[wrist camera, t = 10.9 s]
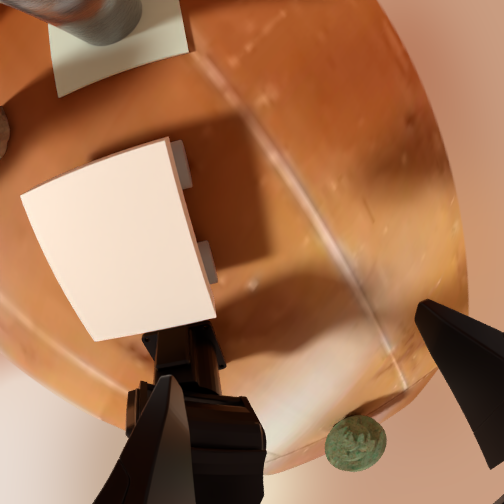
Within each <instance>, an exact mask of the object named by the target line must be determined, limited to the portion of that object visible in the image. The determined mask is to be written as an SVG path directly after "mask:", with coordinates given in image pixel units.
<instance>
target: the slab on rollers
mask: <svg viewBox="0 0 504 504" xmlns="http://www.w3.org/2000/svg"><path fill="white" fill-rule="evenodd" d="M191 187H192V178H191V173H190V168H189V164H188V159H187V155H186V151H185V148H184V145H183V142H182V140H178V141H174V142H170V140H169V136H168V137H165V138H161V139H158V140H154V141H151V142H148V143H144V144H141V145H138V146H135V147H132V148H129V149H126V150H123V151H120V152H117V153H114V154H111V155H108V156H105V157H103V158H100V159H97V160H95V161H92V162H89V163H87V164H84V165H82V166H79V167H77V168H74V169H72V170H69V171H67V172H65V173H62V174H60V175H58V176H55V177H53V178H51V179H49V180H47V181H44V182H42V183H40V184H38V185H36V186H34V187H33V188H31V189H30V190H28V191H27V192H25V193H24V194H22V195H21V196H20V197H21V200H22V202H23V205H24V208H25V210H26V213H27V216H28V218H29V221H30V223H31V225H32V228H33V230H34V233H35V235H36V237H37V239H38V242H39V244H40V246H41V248H42V250H43V252H44V255H45V257H46V259H47V261H48V263H49V265H50V267H51V269H52V271H53V273H54V275H55V276H56V278H57V280H58V282H59V284H60V286H61V288H62V289H63V291H64V293H65V295H66V297H67V298H68V300H69V302H70V303H71V305H72V307H73V308H74V310H75V312H76V313H77V315H78V317H79V318H80V320H81V321H82V323H83V325H84V326H85V328H86V329H87V331H88V332H89V334H90V335H91V337H92V338H93V340H94V341H101V340H107V339H113V338H119V337H124V336H130V335H135V334H140V333H145V332H151V331H156V330H161V329H165V328H170V327H175V326H180V325H184V324H189V323H194V322H198V321H203V320H207V319H211V318H216V309H215V301H214V296H213V293H212V290H211V287H210V284H213V283H217V282H218V278H217V273H216V268H215V264H214V260H213V256H212V252H211V248H210V245H209V242H208V240H206V241H202V242H198V243H197V241H196V238H195V234H194V231H193V227H192V224H191V220H190V217H189V213H188V209H187V206H186V202H185V198H184V195H183V191H182V190H183V189H187V188H191Z"/></svg>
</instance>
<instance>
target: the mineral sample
mask: <svg viewBox="0 0 504 504" xmlns="http://www.w3.org/2000/svg"><path fill="white" fill-rule="evenodd" d="M9 137H10V128H9V124H8V121H7V117H6V114H5V112H4V110H3V107H2V106H0V159H1V158H2V156H3V155H4V154H5V152H6V149H7V141H8V140H9Z"/></svg>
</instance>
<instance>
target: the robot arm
mask: <svg viewBox="0 0 504 504" xmlns="http://www.w3.org/2000/svg"><path fill="white" fill-rule="evenodd" d="M415 323H416V325H417V327H418V329H419V331H420V333H421V336H422V338H423V340H424V342H425V344H426V346H427V348H428V350H429V352H430V354H431V356H432V358H433V359H434V361H435V363H436V364H437V366H438V368H439V369H440V371H441V373H442V375H443V376H444V378H445V380H446V382H447V383H448V385H449V387H450V389H451V390H452V392H453V394H454V396H455V398H456V400H457V402H458V403H459V405H460V407H461V409H462V411H463V413H464V415H465V417H466V419H467V421H468V423H469V425H470V427H471V429H472V431H473V432H474V435H475V437H476V439H477V442H478V444H479V446H480V448H481V450H482V453H483V455H484V457H485V459H486V462H487V464H488V467H489V468H490V470H491V469H492V468H494V467H496V466H497V465H499V464H500V463H502V462H503V461H504V332H501V331H499V330H497V329H495V328H492V327H491V326H488V325H486V324H484V323H482V322H480V321H477V320H475V319H473V318H471V317H468V316H466V315H464V314H462V313H460V312H457V311H455V310H453V309H451V308H448V307H446V306H444V305H441V304H439V303H437V302H435V301H432V300H430V299H426V300H423V301H421V302H419V304H418V307H417V311H416V314H415ZM204 326H208V327H204ZM146 338H148V339H146ZM142 342H143V343H144V345H145V347H146V348H147V350H148V352H149V353H150V355H151V357H152V358H153V360H154V361H155V364H154V380H153V384H148V383H147V382H144V381H140V384H139V388H137V389H136V390H133V391H129V392H128V399H127V409H126V436H127V437H128V438H129V439H128V441H127V443H126V445H125V447H124V449H123V451H122V453H121V455H120V457H119V458H120V459H118V461H117V463H116V465H115V467H114V469H113V471H112V473H111V474H110V476H109V478H108V480H107V481H106V483H105V485H104V487H103V488H102V490H101V491H100V493H99V494H98V496H97V497H96V499H95V500H94V502H93V503H92V504H260V503H261V501H262V499H263V497H264V486H263V469H264V462H265V458H266V454H267V451H266V435H265V431H264V429H263V427H262V425H261V423H260V421H259V420H258V418H257V416H256V414H255V412H254V410H253V408H252V407H251V405H250V403H249V401H248V399H247V397H243V396H239V397H232V396H223V395H222V391H221V384H220V377H219V370H221V369H224V368H226V361H225V359H224V356H223V354H222V351H221V348H220V346H219V343H218V341H217V338H216V335H215V333H214V330H213V327H212V325H211V323H210V322H209V321H202V322H197V323H193V324H188V325H183V326H179V327H174V328H169V329H164V330H159V331H154V332H149V333H145V334H143V335H142ZM493 504H504V494H503V495H502V496H501V497H500V498H499V499H498V500H497V501H496V502H495V503H493Z"/></svg>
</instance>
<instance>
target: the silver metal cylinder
mask: <svg viewBox="0 0 504 504" xmlns="http://www.w3.org/2000/svg"><path fill="white" fill-rule="evenodd" d="M0 3H2V4H5V5H7V6H10V7H12V8H15V9H17V10H20V11H22V12H24V13H27V14H29V15H31V16H33V17H36V18H38V19H40V20H42V21H44V22H47V23H49V24H51V25H53V26H55V27H57V28H59V29H61V30H63V31H65V32H67V33H69V34H71V35H73V36H75V37H77V38H79V39H81V40H82V41H84V42H86V43H88V44H90V45H93V46H107V45H111V44H114V43H116V42H119V41H120V40H122V39H124V38H125V37H127V36H128V35H129V34H130V33H131V32H132V31H133V30H134V29H135V27H136V26H137V25H138V23H139V21H140V19H141V16H142V3H141V1H140V0H0Z"/></svg>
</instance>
